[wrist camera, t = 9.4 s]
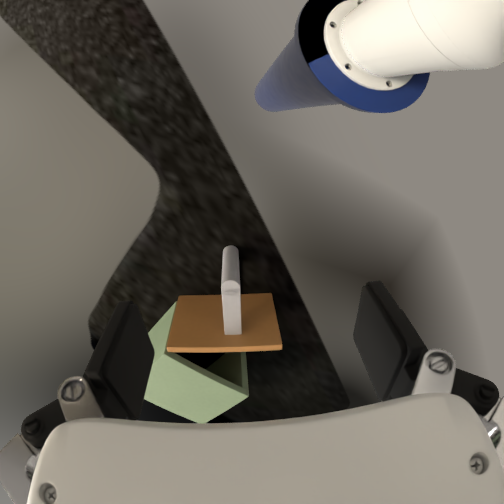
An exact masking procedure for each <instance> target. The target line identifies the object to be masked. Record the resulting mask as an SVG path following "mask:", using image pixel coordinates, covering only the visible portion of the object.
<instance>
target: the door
mask: <svg viewBox="0 0 504 504" xmlns="http://www.w3.org/2000/svg"><path fill="white" fill-rule="evenodd" d="M221 291H222V295H185V296H179V298H178V302H177V306H176V310H175V314H174V318H173V322H172V326H171V330H170V334H169V339H168V343H167V350H168V352H193V353H206V352H248V351H268V350H282V341H281V336H280V331H279V326H278V321H277V317H276V312H275V307H274V302H273V298H272V293H260V294H240V272H239V252H238V249H237V248H236V247H235V246H232V245H230V246H227V247H225V248H224V250H223V264H222V283H221Z"/></svg>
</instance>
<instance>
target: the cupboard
mask: <svg viewBox="0 0 504 504" xmlns="http://www.w3.org/2000/svg"><path fill="white" fill-rule="evenodd" d="M176 306H177V301H176V302H175V303H174V304H173V306H172V307H171V308H170V309H169V310H168V311H167V312H166V314H165V315H164V316H163V317H162V318H161V319H160V320H159V321H158V323H157V324H156V325H155V326H154V327H153V328H152V329H151V331H150V332H149V333H148V335H149V338H150V340H151V343H152V345H153V348H154V351H155V356H154V360H153V364H152V368H151V372H150V376H149V380H148V384H147V388H146V392H145V396H144V399H145V400H148V401H150V402H151V403H154V404H156V405H158V406H160V407H162V408H164V409H167V410H169V411H171V412H173V413H175V414H178V415H180V416H182V417H185V418H187V419H190V420H192V421H195V422H197V423H200V424H204V423H206V422H208V421H209V420H211V419H213V418H215V417H216V416H218V415H220V414H221V413H223V412H225V411H226V410H228V409H230V408H231V407H233V406H234V405H236V404H238V403H239V402H241V401H242V400H244V399H245V398H247V397H248V396H249V392H248V377H247V363H246V352H226V353H225V354H224V355H222V356H221V357H220V358H219V359H217V360H216V361H215V362H214V363H213V364H211V365H210V366H209V367H208V368H206V369H203V368H201V367H200V366H198V365H196V364H194V363H192V362H190V361H188V360H186V359H185V358H183V357H181V356H179V355H177V354H176V353H174V352H168V350H167V343H168V339H169V334H170V330H171V326H172V322H173V318H174V314H175V310H176Z"/></svg>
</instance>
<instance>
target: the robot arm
mask: <svg viewBox="0 0 504 504" xmlns="http://www.w3.org/2000/svg"><path fill="white" fill-rule="evenodd" d="M330 25H331V26H332V27H333V28H332V27H331V26H330ZM324 41H325V44H326V48H327V50H328V53H329V55H330V57H331V59H332V60H333V62H334V63H335V65H336V66H337V67H338V68H339V69H340V70H341V71H342V73H343V74H345V75H346V76H347V77H348V78H350V79H351V80H352V81H354V82H356V83H357V84H359V85H361V86H364V87H366V88H369V89H373V90H393V89H396V88H400V87H401V86H403V85H405V84H406V83H407V82H408V81H409V80H410V79H411V78H412V76H413V75H414V74H419V73H428V72H438V71H450V70H471V69H487V68H493V67H496V66H498V65H500V64H501V63H503V62H504V0H347V1H344V2H342V3H340V4H338V5H337V6H336V7H335V8H334V9H333V10H332V11H331V12H330V13H329V15H328V16H327V19H326V21H325V25H324ZM345 66H347V68H348V69H346V68H345ZM386 83H387V84H386ZM353 335H354V341H355V344H356V346H357V348H358V350H359V353H360V355H361V358H362V360H363V363H364V365H365V367H366V370H367V372H368V375H369V377H370V380H371V382H372V385H373V387H374V390H375V392H376V395H377V397H378V399H379V400H382V401H383V402H380V403H376V404H371V405H366V406H362V407H357V408H352V409H347V410H342V411H337V412H331V413H326V414H320V415H313V416H306V417H299V418H291V419H282V420H272V421H260V422H245V423H217V424H190V423H163V422H147V421H136V419H138V418H139V417H140V413H141V409H142V405H143V400H144V396H145V392H146V388H147V384H148V380H149V376H150V372H151V368H152V364H153V360H154V356H155V351H154V348H153V345H152V343H151V340H150V338H149V335H148V332H147V330H146V327H145V324H144V322H143V319H142V316H141V314H140V311H139V308H138V306H137V304H134V303H133V302H132V301H119V302H118V303H117V305H116V307H115V309H114V311H113V313H112V315H111V317H110V319H109V321H108V323H107V325H106V327H105V329H104V332H103V334H102V335H101V337H100V339H99V341H98V344H97V346H96V348H95V350H94V352H93V355H92V357H91V359H90V361H89V363H88V366H87V368H86V370H85V373H84V375H83V377H79V376H73V377H70V378H68V379H66V380H65V381H63V383H62V384H61V385H60V387H59V388H58V393H57V394H58V399H57V400H55V401H53V402H52V403H50V404H48V405H46V406H45V407H43V408H41V409H39V410H37V411H36V412H34V413H32V414H31V415H29V416H28V417H26V419H25V420H24V421H23V423H22V427H21V432H22V434H21V435H19V434H18V433H17V434H16V435H15V436H14V437H13V438H12V440H10V442H8V443H7V445H6V446H4V447H3V449H2V450H1V451H0V483H1V484H2V486H3V487H4V489H5V490H6V492H7V493H8V495H9V496H10V498H11V499H12V501H13V502H14V503H15V504H504V396H503V397H502V399H501V398H500V397H499V391H498V388H497V387H496V385H495V384H494V383H493V382H491V381H489V380H487V379H484V378H481V377H479V376H476V375H473V374H471V373H468V372H465V371H462V370H460V369H457V368H456V361H455V359H454V357H453V356H452V355H451V354H450V353H449V352H447V351H445V350H443V349H431V350H429V351H428V349H427V347H426V346H425V345H424V343H423V341H422V340H421V338H420V336H419V335H418V333H417V332H416V330H415V329H414V327H413V326H412V324H411V322H410V321H409V320H408V318H407V317H406V315H405V313H404V312H403V311H402V310H401V309H400V308H399V306H398V305H397V303H396V302H395V301H394V299H393V298H392V296H391V295H390V293H389V292H388V290H387V289H386V288H385V286H384V285H383V283H382V282H381V281H373V282H368V283H366V286H363V287H362V292H361V298H360V303H359V309H358V314H357V319H356V324H355V329H354V334H353Z"/></svg>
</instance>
